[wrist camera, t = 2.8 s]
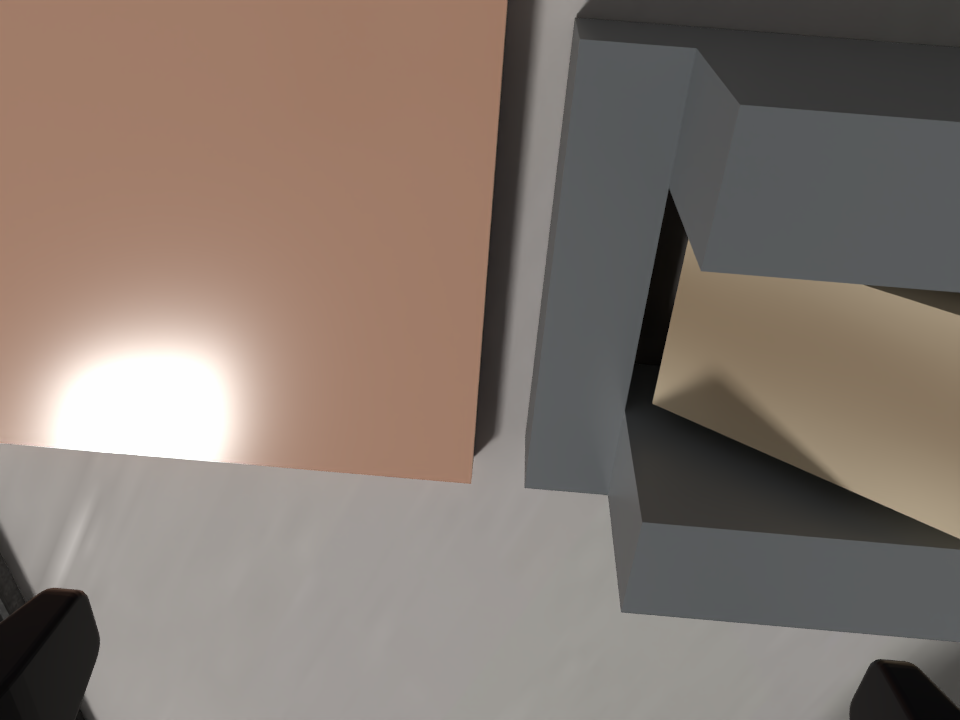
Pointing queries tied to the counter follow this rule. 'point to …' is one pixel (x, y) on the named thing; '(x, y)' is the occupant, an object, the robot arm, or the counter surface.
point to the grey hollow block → (746, 251)
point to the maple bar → (825, 381)
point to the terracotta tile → (248, 229)
